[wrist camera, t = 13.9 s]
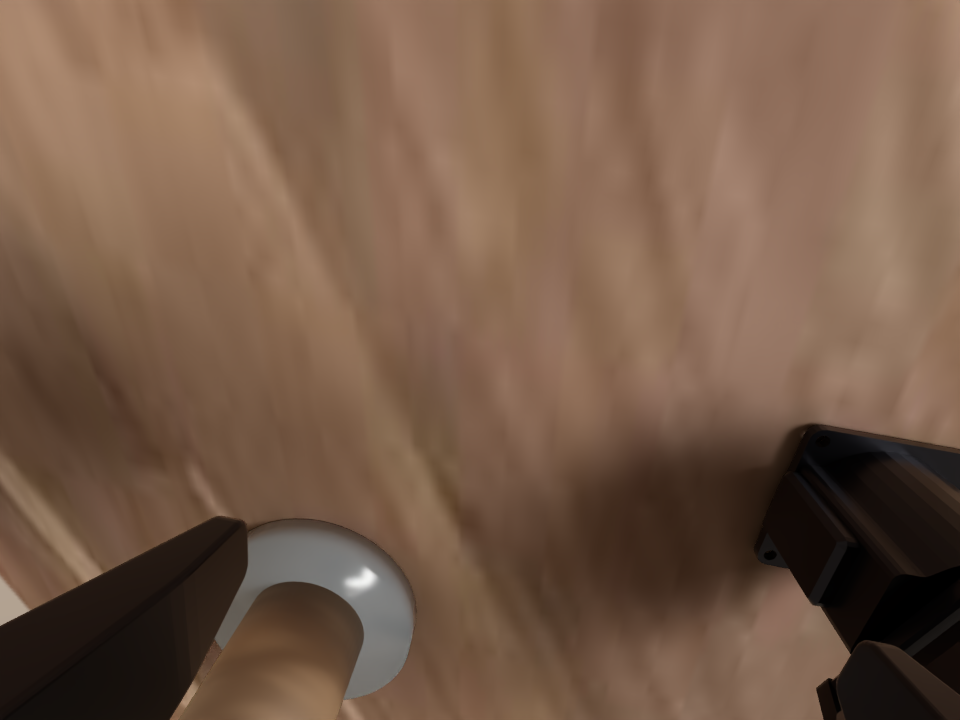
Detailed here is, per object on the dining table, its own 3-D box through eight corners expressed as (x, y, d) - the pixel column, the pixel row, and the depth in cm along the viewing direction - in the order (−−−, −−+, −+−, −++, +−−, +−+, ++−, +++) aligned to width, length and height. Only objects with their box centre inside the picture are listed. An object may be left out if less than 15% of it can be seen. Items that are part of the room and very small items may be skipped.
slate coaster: (427, 541, 24) (420, 565, 22) (406, 689, 28) (399, 717, 26) (217, 501, 24) (197, 522, 23) (224, 652, 28) (208, 678, 27)
